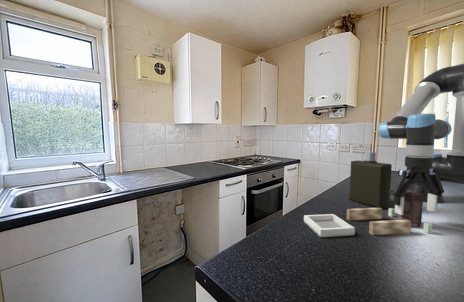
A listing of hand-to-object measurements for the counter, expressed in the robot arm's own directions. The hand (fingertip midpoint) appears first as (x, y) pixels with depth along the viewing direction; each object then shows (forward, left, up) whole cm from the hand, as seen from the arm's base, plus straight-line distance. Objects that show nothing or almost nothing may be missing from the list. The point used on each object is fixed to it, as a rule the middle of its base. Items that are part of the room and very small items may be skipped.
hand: (415, 212), depth 77 cm
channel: (+16, 0, -4) cm, 16 cm away
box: (+3, 0, -4) cm, 5 cm away
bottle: (+1, -22, -4) cm, 22 cm away
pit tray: (+35, 0, -4) cm, 35 cm away
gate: (+3, 0, -4) cm, 5 cm away
